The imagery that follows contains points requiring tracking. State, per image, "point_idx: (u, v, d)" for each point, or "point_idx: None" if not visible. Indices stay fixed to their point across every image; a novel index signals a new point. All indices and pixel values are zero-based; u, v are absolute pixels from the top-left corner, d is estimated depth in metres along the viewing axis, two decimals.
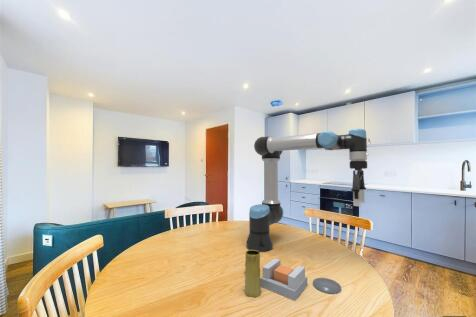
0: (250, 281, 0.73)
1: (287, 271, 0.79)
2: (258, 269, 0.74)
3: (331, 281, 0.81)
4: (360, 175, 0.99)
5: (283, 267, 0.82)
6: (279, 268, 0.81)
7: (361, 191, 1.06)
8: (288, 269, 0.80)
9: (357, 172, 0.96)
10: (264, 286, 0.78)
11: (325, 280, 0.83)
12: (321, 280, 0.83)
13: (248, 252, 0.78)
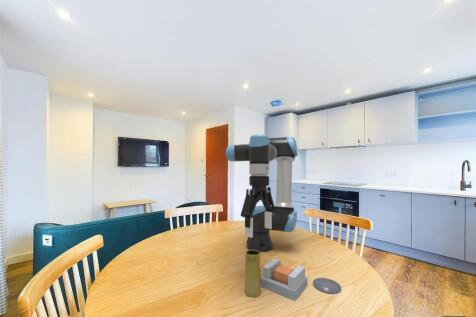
0: (250, 281, 0.73)
1: (287, 271, 0.79)
2: (258, 269, 0.74)
3: (331, 281, 0.81)
4: None
5: (283, 267, 0.82)
6: (279, 268, 0.81)
7: (268, 214, 0.83)
8: (288, 269, 0.80)
9: (250, 192, 0.73)
10: (264, 286, 0.78)
11: (325, 280, 0.83)
12: (321, 280, 0.83)
13: (248, 252, 0.78)
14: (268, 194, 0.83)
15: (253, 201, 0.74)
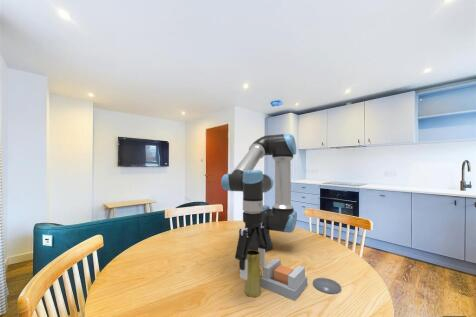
0: (250, 281, 0.73)
1: (287, 271, 0.79)
2: (258, 269, 0.74)
3: (331, 281, 0.81)
4: None
5: (283, 267, 0.82)
6: (279, 268, 0.81)
7: (261, 251, 0.81)
8: (288, 269, 0.80)
9: (243, 233, 0.71)
10: (264, 286, 0.78)
11: (325, 280, 0.83)
12: (321, 280, 0.83)
13: (248, 252, 0.78)
14: (262, 230, 0.81)
15: (247, 241, 0.73)
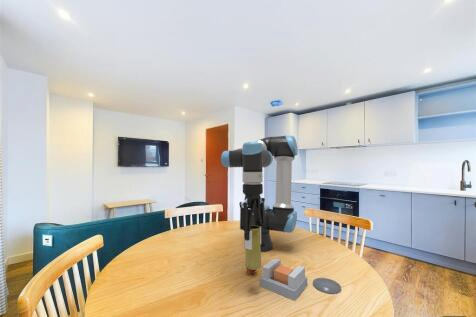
0: (251, 254, 0.74)
1: (287, 271, 0.79)
2: (258, 243, 0.75)
3: (331, 281, 0.81)
4: None
5: (283, 267, 0.82)
6: (279, 268, 0.81)
7: None
8: (288, 269, 0.80)
9: (243, 206, 0.72)
10: (264, 286, 0.78)
11: (325, 280, 0.83)
12: (321, 280, 0.83)
13: None
14: (261, 205, 0.81)
15: (249, 212, 0.75)
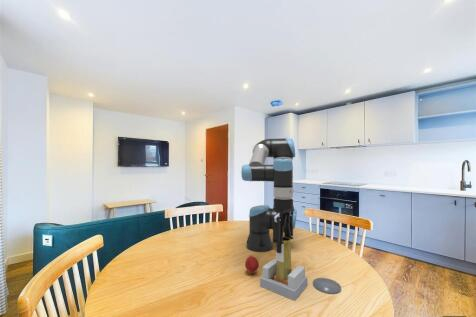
0: (282, 265, 0.78)
1: None
2: (289, 254, 0.79)
3: (331, 281, 0.81)
4: None
5: None
6: None
7: None
8: None
9: (276, 220, 0.76)
10: (264, 286, 0.78)
11: (325, 280, 0.83)
12: (321, 280, 0.83)
13: None
14: (290, 218, 0.85)
15: (280, 226, 0.78)
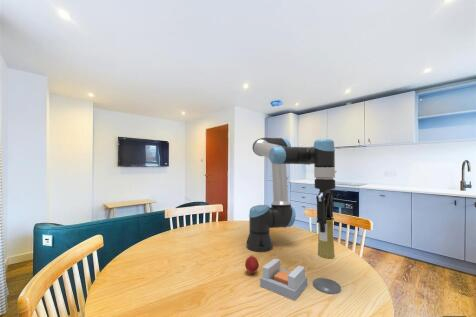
0: (326, 244, 0.78)
1: (287, 277, 0.79)
2: (332, 233, 0.79)
3: (331, 281, 0.81)
4: None
5: (283, 272, 0.82)
6: (279, 274, 0.81)
7: None
8: None
9: (321, 199, 0.76)
10: (264, 286, 0.78)
11: (325, 280, 0.83)
12: (321, 280, 0.83)
13: None
14: None
15: None
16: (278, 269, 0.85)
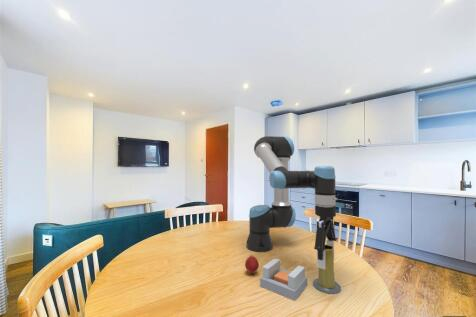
0: (326, 274, 0.77)
1: (287, 277, 0.79)
2: (333, 262, 0.78)
3: None
4: None
5: (283, 272, 0.82)
6: (279, 274, 0.81)
7: (330, 243, 0.85)
8: None
9: (321, 225, 0.75)
10: (264, 286, 0.78)
11: None
12: None
13: None
14: None
15: None
16: (278, 269, 0.85)
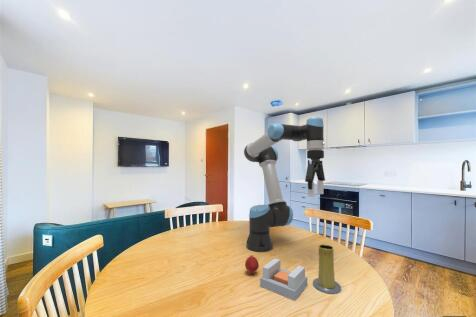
0: (326, 274, 0.77)
1: (287, 277, 0.79)
2: (333, 262, 0.78)
3: None
4: None
5: (283, 272, 0.82)
6: (279, 274, 0.81)
7: (320, 182, 1.02)
8: None
9: (311, 162, 0.92)
10: (264, 286, 0.78)
11: None
12: None
13: (320, 247, 0.82)
14: (320, 166, 1.02)
15: (313, 169, 0.94)
16: (278, 269, 0.85)
